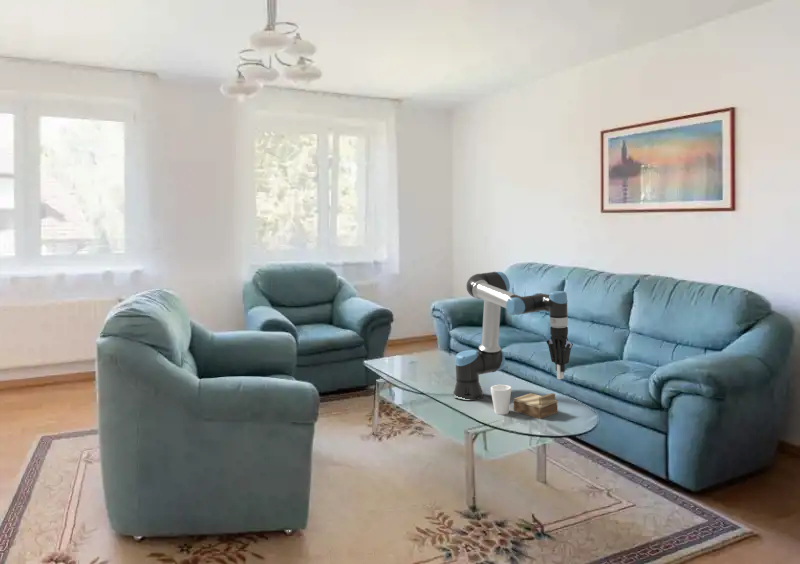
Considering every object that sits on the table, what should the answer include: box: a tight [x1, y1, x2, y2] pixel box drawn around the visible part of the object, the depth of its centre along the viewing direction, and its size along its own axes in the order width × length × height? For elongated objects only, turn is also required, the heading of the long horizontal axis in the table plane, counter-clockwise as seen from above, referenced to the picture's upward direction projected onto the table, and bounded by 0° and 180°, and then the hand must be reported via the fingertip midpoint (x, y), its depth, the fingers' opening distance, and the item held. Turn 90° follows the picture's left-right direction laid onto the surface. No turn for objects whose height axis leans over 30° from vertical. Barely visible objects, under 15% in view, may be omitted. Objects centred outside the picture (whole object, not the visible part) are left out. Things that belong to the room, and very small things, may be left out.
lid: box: [513, 392, 558, 409], centre depth 280 cm, size 16×12×4 cm
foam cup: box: [490, 384, 512, 416], centre depth 282 cm, size 10×9×13 cm
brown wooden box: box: [513, 400, 558, 420], centre depth 281 cm, size 16×12×6 cm
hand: (560, 378), depth 267 cm, fingers closed
